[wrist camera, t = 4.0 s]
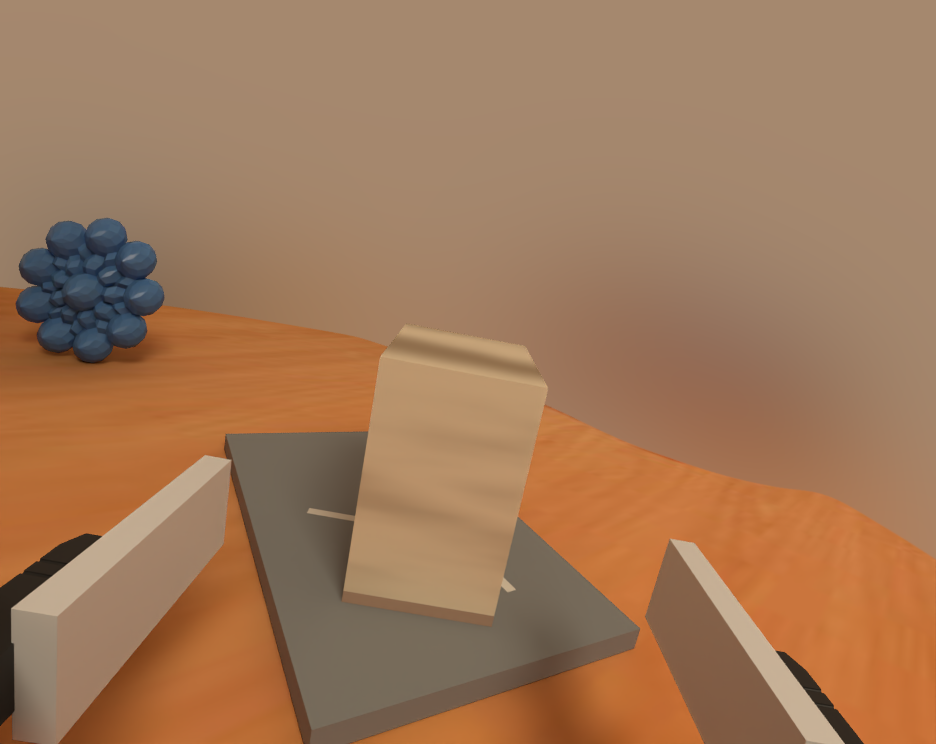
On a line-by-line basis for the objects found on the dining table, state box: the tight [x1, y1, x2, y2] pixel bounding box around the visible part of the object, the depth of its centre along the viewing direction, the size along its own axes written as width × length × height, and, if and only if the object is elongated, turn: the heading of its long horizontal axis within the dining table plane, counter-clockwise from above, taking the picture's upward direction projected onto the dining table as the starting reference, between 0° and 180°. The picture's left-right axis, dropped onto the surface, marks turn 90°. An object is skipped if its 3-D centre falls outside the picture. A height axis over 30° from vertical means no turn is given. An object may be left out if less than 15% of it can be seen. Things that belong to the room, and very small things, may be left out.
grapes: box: [16, 218, 164, 363], centre depth 44 cm, size 12×7×12 cm, turn 88°
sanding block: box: [342, 324, 548, 627], centre depth 24 cm, size 8×6×10 cm
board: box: [224, 432, 640, 744], centre depth 28 cm, size 22×14×1 cm, turn 29°
